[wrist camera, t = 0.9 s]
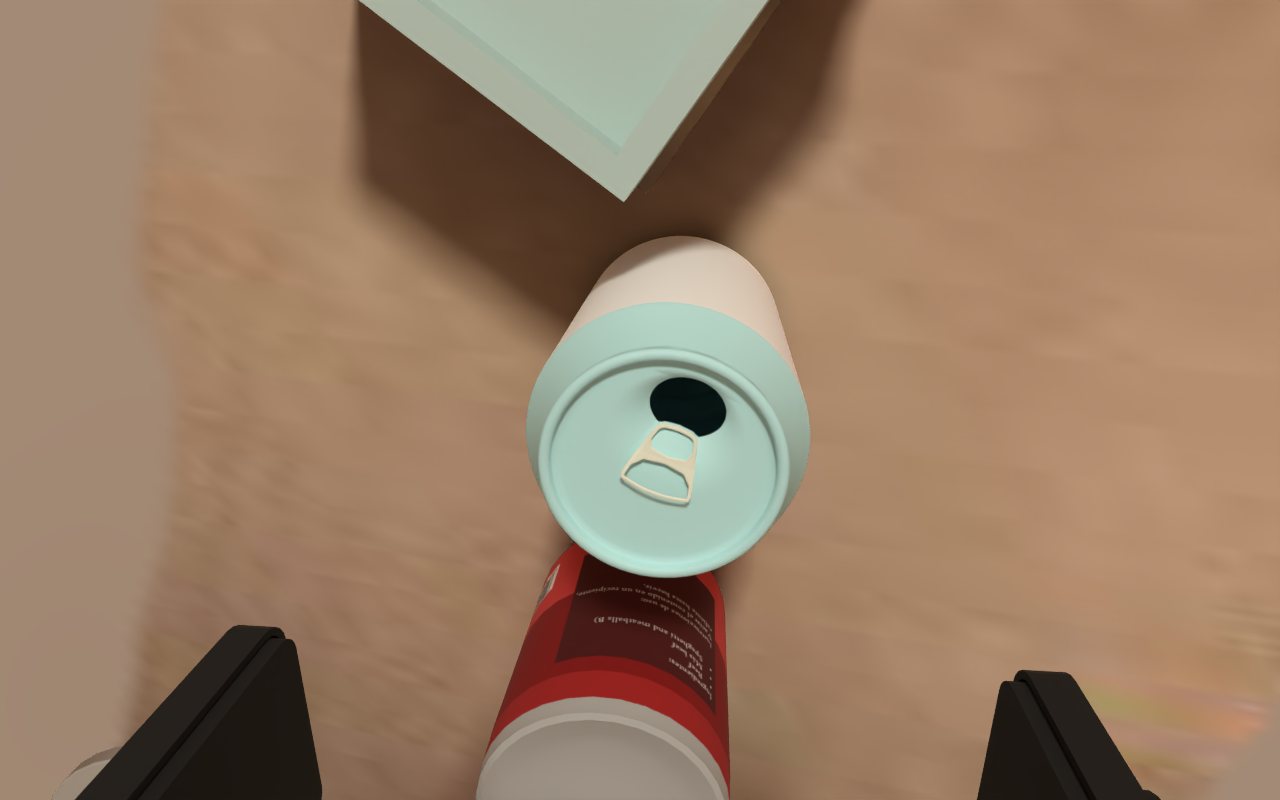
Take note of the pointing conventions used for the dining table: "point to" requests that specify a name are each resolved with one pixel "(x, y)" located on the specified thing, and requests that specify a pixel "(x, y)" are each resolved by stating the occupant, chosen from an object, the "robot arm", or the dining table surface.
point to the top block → (584, 67)
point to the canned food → (615, 691)
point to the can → (670, 413)
